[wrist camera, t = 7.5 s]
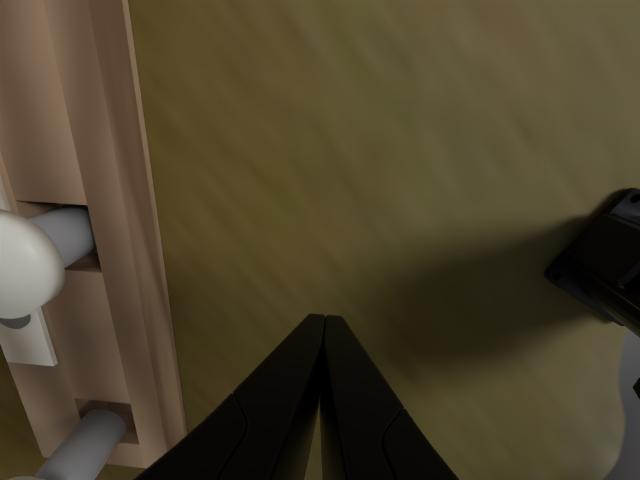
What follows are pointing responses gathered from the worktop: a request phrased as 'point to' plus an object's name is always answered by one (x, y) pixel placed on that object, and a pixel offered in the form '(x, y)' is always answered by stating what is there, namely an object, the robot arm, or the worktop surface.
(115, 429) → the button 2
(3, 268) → the middle button
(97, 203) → the console
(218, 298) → the worktop surface
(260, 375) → the robot arm
